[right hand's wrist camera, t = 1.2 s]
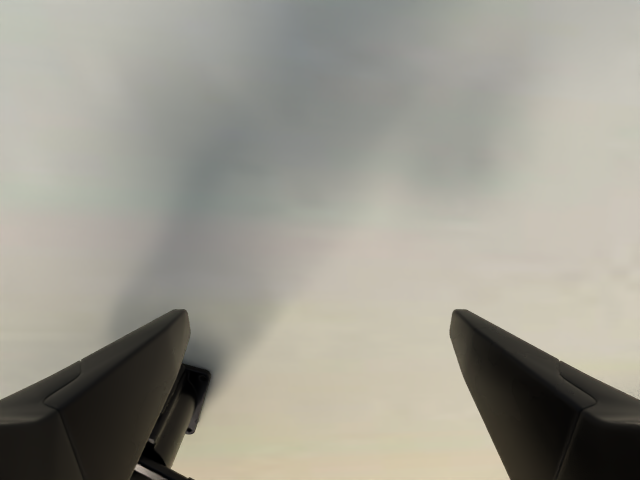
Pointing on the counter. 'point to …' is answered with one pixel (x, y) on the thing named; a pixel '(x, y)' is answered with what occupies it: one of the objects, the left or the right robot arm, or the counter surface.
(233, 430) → the counter surface
